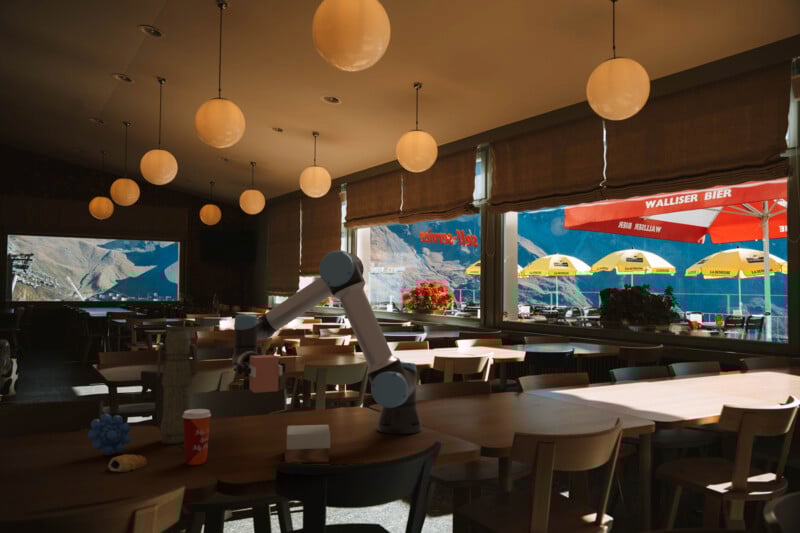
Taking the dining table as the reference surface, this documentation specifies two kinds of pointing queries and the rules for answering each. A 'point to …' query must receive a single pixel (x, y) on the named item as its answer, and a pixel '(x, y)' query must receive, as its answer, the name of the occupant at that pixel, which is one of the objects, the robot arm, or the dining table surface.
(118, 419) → the blue knobbly flower
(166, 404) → the stone statue
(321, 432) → the tower top
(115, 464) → the pastry
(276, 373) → the salmon pink block
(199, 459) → the paper cup
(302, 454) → the tower base
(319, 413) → the dining table surface
